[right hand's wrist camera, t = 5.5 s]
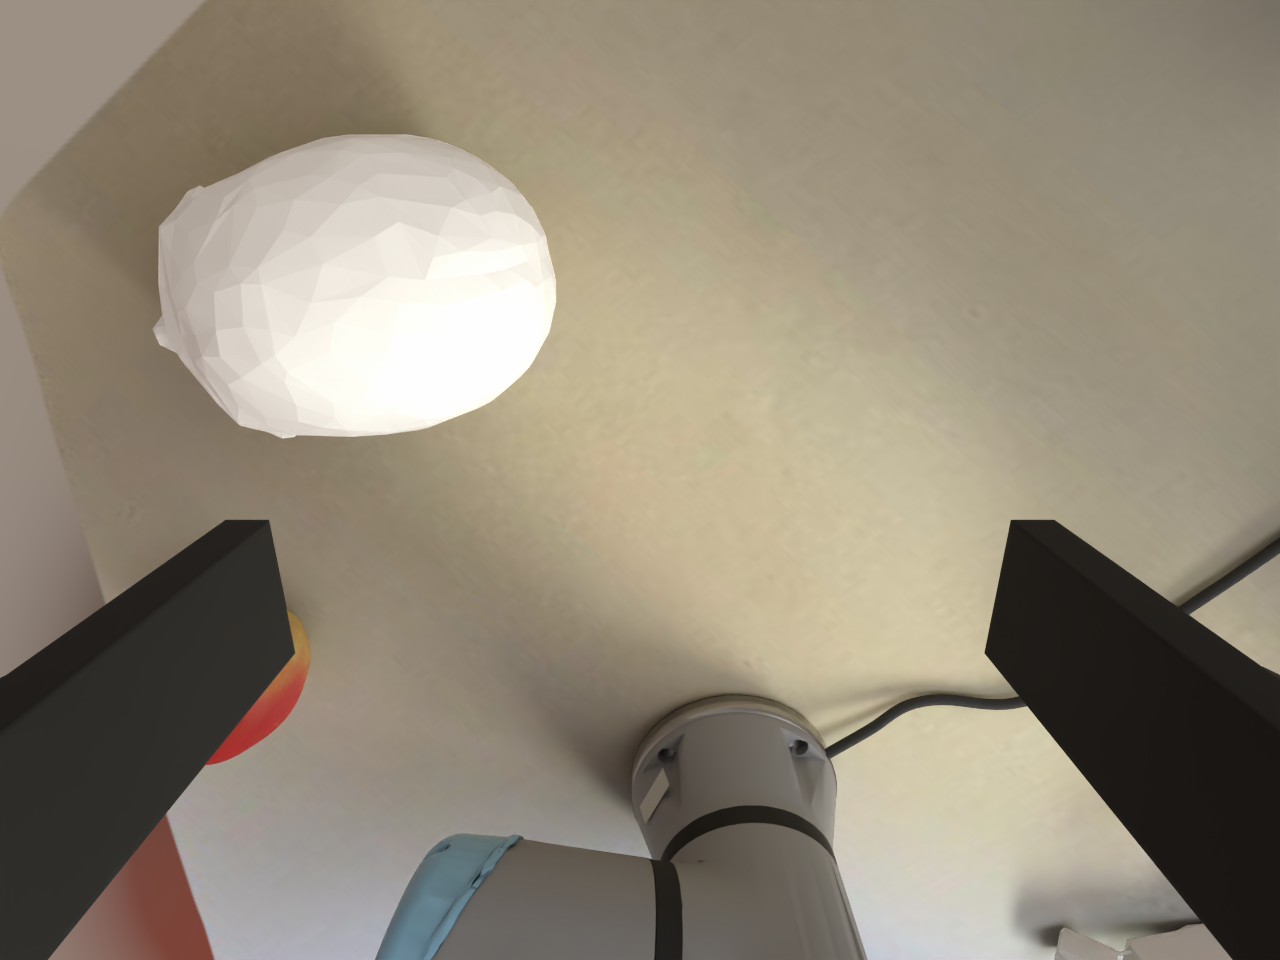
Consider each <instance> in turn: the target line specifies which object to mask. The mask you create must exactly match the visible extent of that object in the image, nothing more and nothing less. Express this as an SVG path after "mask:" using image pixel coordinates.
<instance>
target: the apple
mask: <svg viewBox="0 0 1280 960" xmlns="http://www.w3.org/2000/svg"><path fill="white" fill-rule="evenodd" d="M287 613H288V618H289V623H290V628H291V633H292V638H293V643H294V648H295V654H294V656H293V657H292V658H291V659H290V660H289V662H288V663H287V664H286V665H285V667H284V668H283V669H282V670H281V672H280V673H279V674H278V675H277V677H276V678H275V679H274V680H273V681H272V683H271V684H270V685H269V686H268V688H267V689H266V690H265V691H264V693H263V694H262V695H261V696H260V698H259V699H258V700H257V701H256V703H255V704H254V705H253V706H252V707H251V709H250V710H249V711H248V712H247V714H246V715H245V716H244V717H243V719H242V720H241V721H240V722H239V724H238V725H237V726H236V727H235V728H234V730H233V731H232V732H231V733H230V735H229V736H228V737H227V738H226V740H225V741H224V742H223V743H222V745H221V746H220V747H219V748H218V750H217V751H216V752H215V753H214V754H213V756H212V757H211V758H210V759H209V761H208V762H207V763H206V764H205V765H210V764H215V763H219V762H223V761H226V760H228V759H230V758H232V757H235V756H237V755H238V754H240V753H242V752H243V751H245V750H247V749H248V748H250V747H252V746H253V745H255V744H256V743H258V742H259V741H261V740H262V739H263V738H265V737H266V736H268V735H269V734H270V733H271V732H272V731H274V730H275V729H276V728H277V727H278V726H279V725H280V724H281V723H282V722H283V721H284V720H285V719H286V717H287V716H288V715H289V714H290V712H291V711H292V709H293V708H294V706H295V704H296V703H297V700H298V698H299V696H300V694H301V692H302V689H303V686H304V683H305V680H306V677H307V674H308V669H309V665H310V645H309V641H308V638H307V635H306V632H305V630H304V628H303V626H302V624H301V622H300V621H299V619H298V618H297V617H296V616H295V615H294V614H292V613H291V612H290V611H289V610H288V609H287Z"/></svg>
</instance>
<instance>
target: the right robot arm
mask: <svg viewBox="0 0 1280 960" xmlns="http://www.w3.org/2000/svg"><path fill="white" fill-rule="evenodd" d="M1279 553H1280V538H1278V539H1277V540H1276V541H1274V542H1273V543H1271V544H1270V545H1268V546H1267V547H1266V548H1264V549H1263V550H1261V551H1260V552H1258V553H1257V554H1256V555H1254V556H1253V557H1251V558H1250V559H1248V560H1247V561H1246V562H1244V563H1243V564H1241V565H1240V566H1238V567H1237V568H1236V569H1234V570H1233V571H1231V572H1230V573H1228V574H1227V575H1225V576H1224V577H1222V578H1221V579H1219V580H1218V581H1216V582H1215V583H1213V584H1212V585H1210V586H1209V587H1208V588H1206V589H1205V590H1203V591H1202V592H1200V593H1199V594H1197V595H1196V596H1194V597H1193V598H1191V599H1190V600H1188V601H1187V602H1185V603H1184V604H1182V605H1181V606H1179V607H1177V606H1175V605H1174V604H1172V603H1171V602H1170V601H1168V600H1167V599H1165V598H1164V597H1163V596H1161V595H1160V594H1158V593H1157V592H1155V591H1154V590H1153V589H1151V588H1150V587H1148V586H1147V585H1146V584H1144V583H1143V582H1141V581H1140V580H1139V579H1137V578H1136V577H1134V576H1133V575H1131V574H1130V573H1129V572H1127V571H1126V570H1124V569H1123V568H1122V567H1120V566H1119V565H1117V564H1116V563H1114V562H1113V561H1112V560H1110V559H1109V558H1107V557H1106V556H1105V555H1103V554H1102V553H1100V552H1099V551H1098V550H1096V549H1095V548H1093V547H1092V546H1090V545H1089V544H1088V543H1086V542H1085V541H1083V540H1082V539H1081V538H1079V537H1078V536H1076V535H1075V534H1073V533H1072V532H1071V531H1069V530H1068V529H1066V528H1065V527H1064V526H1062V525H1061V524H1059V523H1058V522H1057V521H1055V520H1011V523H1010V528H1009V533H1008V538H1007V543H1006V548H1005V553H1004V558H1003V563H1002V568H1001V573H1000V578H999V583H998V588H997V593H996V598H995V603H994V608H993V613H992V618H991V623H990V628H989V633H988V638H987V643H986V648H985V654H986V656H987V657H988V658H989V659H990V660H991V662H992V663H993V664H994V665H995V667H996V668H997V669H998V670H999V672H1000V673H1001V674H1002V675H1003V677H1004V678H1005V679H1006V680H1007V681H1008V683H1009V684H1010V685H1011V686H1012V688H1013V689H1014V690H1015V691H1016V693H1017V694H1018V695H1019V697H1015V698H1008V699H982V698H973V697H966V696H957V695H944V694H939V695H926V696H920V697H916V698H911V699H908V700H906V701H903V702H901V703H899V704H897V705H895V706H893V707H892V708H890V709H889V710H887V711H886V712H885V713H883V714H882V715H881V716H879V717H878V718H876V719H875V720H874V721H872V722H871V723H869V724H868V725H866V726H864V727H863V728H861V729H859V730H857V731H856V732H854V733H852V734H850V735H849V736H847V737H845V738H843V739H842V740H840V741H838V742H836V743H834V744H833V745H831V746H829V747H827V748H826V746H825V744H824V741H823V740H822V738H821V736H820V735H819V733H818V732H817V731H816V729H815V728H814V727H813V726H812V725H811V724H810V723H809V722H808V721H807V720H806V719H805V718H803V717H802V716H801V715H800V714H798V713H797V712H795V711H794V710H792V709H790V708H788V707H786V706H784V705H782V704H779V703H777V702H774V701H771V700H768V699H763V698H759V697H753V696H742V695H728V696H718V697H712V698H707V699H703V700H700V701H697V702H694V703H691V704H688V705H686V706H684V707H682V708H680V709H678V710H676V711H674V712H673V713H671V714H670V715H668V716H667V717H665V718H664V719H663V720H661V721H660V722H659V723H658V724H657V725H656V726H655V727H654V728H653V729H652V730H651V731H650V732H649V733H648V735H647V736H646V737H645V739H644V740H643V742H642V743H641V745H640V747H639V749H638V751H637V753H636V756H635V759H634V763H633V768H632V792H631V795H632V806H633V811H634V814H635V818H636V820H637V822H638V825H639V827H640V829H641V832H642V834H643V837H644V839H645V841H646V844H647V846H648V849H649V851H650V854H651V856H652V859H648V858H643V857H637V856H630V855H623V854H616V853H609V852H602V851H596V850H589V849H582V848H575V847H568V846H561V845H555V844H549V843H543V842H537V841H531V840H525V839H523V837H522V836H519V835H512V836H510V837H497V836H485V835H473V834H456V835H453V836H450V837H447V838H445V839H444V840H442V841H440V842H439V843H438V844H437V845H435V846H434V847H433V848H432V849H431V850H430V851H429V853H428V854H427V855H426V857H425V858H424V859H423V861H422V862H421V864H420V865H419V867H418V868H417V870H416V872H415V873H414V875H413V877H412V879H411V880H410V882H409V884H408V886H407V888H406V890H405V892H404V894H403V896H402V898H401V900H400V902H399V904H398V907H397V909H396V911H395V913H394V915H393V918H392V920H391V922H390V924H389V927H388V929H387V931H386V934H385V936H384V939H383V941H382V943H381V946H380V948H379V951H378V953H377V956H376V959H375V960H867V957H866V953H865V950H864V947H863V944H862V941H861V938H860V935H859V931H858V928H857V925H856V922H855V919H854V916H853V913H852V909H851V906H850V903H849V900H848V897H847V894H846V891H845V888H844V884H843V881H842V878H841V875H840V872H839V869H838V866H837V863H836V859H835V856H834V853H833V836H834V821H835V805H836V794H837V781H836V775H835V771H834V768H833V765H832V762H831V759H830V758H832V757H834V756H836V755H837V754H839V753H841V752H843V751H844V750H846V749H848V748H850V747H852V746H853V745H855V744H857V743H859V742H860V741H862V740H864V739H866V738H867V737H869V736H871V735H872V734H874V733H876V732H877V731H879V730H880V729H882V728H883V727H884V726H886V725H887V724H888V723H890V722H891V721H892V720H894V719H895V718H897V717H898V716H900V715H902V714H903V713H905V712H907V711H910V710H913V709H916V708H920V707H925V706H932V705H954V706H963V707H971V708H979V709H991V710H1006V709H1015V708H1020V707H1025V706H1028V707H1029V709H1030V710H1031V711H1032V712H1033V714H1034V715H1035V716H1036V717H1037V719H1038V720H1039V721H1040V722H1041V724H1042V725H1043V726H1044V727H1045V729H1046V730H1047V731H1048V732H1049V733H1050V735H1051V736H1052V737H1053V738H1054V740H1055V741H1056V742H1057V743H1058V745H1059V746H1060V747H1061V748H1062V750H1063V751H1064V752H1065V753H1066V754H1067V756H1068V757H1069V758H1070V759H1071V761H1072V762H1073V763H1074V764H1075V766H1076V767H1077V768H1078V769H1079V771H1080V772H1081V773H1082V774H1083V776H1084V777H1085V778H1086V779H1087V780H1088V782H1089V783H1090V784H1091V785H1092V787H1093V788H1094V789H1095V790H1096V792H1097V793H1098V794H1099V795H1100V797H1101V798H1102V799H1103V800H1104V801H1105V803H1106V804H1107V805H1108V806H1109V808H1110V809H1111V810H1112V811H1113V813H1114V814H1115V815H1116V816H1117V818H1118V819H1119V820H1120V821H1121V823H1122V824H1123V825H1124V826H1125V827H1126V829H1127V830H1128V831H1129V832H1130V834H1131V835H1132V836H1133V837H1134V839H1135V840H1136V841H1137V842H1138V844H1139V845H1140V846H1141V847H1142V849H1143V850H1144V851H1145V852H1146V853H1147V855H1148V856H1149V857H1150V858H1151V860H1152V861H1153V862H1154V863H1155V865H1156V866H1157V867H1158V868H1159V870H1160V871H1161V872H1162V873H1163V874H1164V876H1165V877H1166V878H1167V879H1168V881H1169V882H1170V883H1171V884H1172V886H1173V887H1174V888H1175V889H1176V891H1177V892H1178V893H1179V894H1180V896H1181V897H1182V898H1183V899H1184V900H1185V902H1186V903H1187V904H1188V905H1189V907H1190V908H1191V909H1192V910H1193V912H1194V913H1195V914H1196V915H1197V917H1198V918H1199V919H1200V920H1201V921H1202V923H1203V924H1204V925H1205V926H1206V928H1207V929H1208V930H1209V931H1210V933H1211V934H1212V935H1213V936H1214V938H1215V939H1216V940H1217V941H1218V943H1219V944H1220V945H1221V946H1222V947H1223V949H1224V950H1225V951H1226V952H1227V954H1228V955H1229V956H1230V957H1231V959H1232V960H1280V675H1279V674H1277V673H1275V672H1273V671H1270V670H1268V669H1266V668H1264V667H1261V666H1260V665H1259V664H1257V663H1256V662H1254V661H1253V660H1252V659H1250V658H1249V657H1247V656H1246V655H1245V654H1243V653H1242V652H1240V651H1239V650H1237V649H1236V648H1235V647H1233V646H1232V645H1230V644H1229V643H1228V642H1226V641H1225V640H1223V639H1222V638H1220V637H1219V636H1218V635H1216V634H1215V633H1213V632H1212V631H1211V630H1209V629H1208V628H1206V627H1205V626H1204V625H1202V624H1201V623H1199V622H1198V621H1196V620H1195V619H1194V618H1192V617H1191V616H1189V614H1191V613H1192V612H1194V611H1195V610H1197V609H1198V608H1200V607H1201V606H1203V605H1204V604H1206V603H1207V602H1209V601H1210V600H1212V599H1213V598H1215V597H1216V596H1218V595H1219V594H1221V593H1222V592H1224V591H1225V590H1227V589H1228V588H1230V587H1231V586H1233V585H1234V584H1236V583H1237V582H1239V581H1240V580H1242V579H1243V578H1245V577H1246V576H1247V575H1249V574H1250V573H1252V572H1253V571H1255V570H1256V569H1258V568H1259V567H1260V566H1262V565H1263V564H1265V563H1266V562H1268V561H1269V560H1271V559H1272V558H1273V557H1275V556H1276V555H1278V554H1279ZM294 654H295V648H294V643H293V638H292V633H291V628H290V623H289V618H288V613H287V608H286V603H285V598H284V593H283V588H282V583H281V578H280V573H279V568H278V563H277V558H276V553H275V548H274V543H273V538H272V533H271V528H270V523H269V520H225V521H223V522H222V523H221V524H219V525H218V526H216V527H215V528H214V529H212V530H211V531H209V532H208V533H207V534H205V535H204V536H202V537H201V538H199V539H198V540H197V541H195V542H194V543H192V544H191V545H190V546H188V547H187V548H185V549H184V550H182V551H181V552H180V553H178V554H177V555H175V556H174V557H173V558H171V559H170V560H168V561H167V562H166V563H164V564H163V565H161V566H160V567H158V568H157V569H156V570H154V571H153V572H151V573H150V574H149V575H147V576H146V577H144V578H143V579H141V580H140V581H139V582H137V583H136V584H134V585H133V586H132V587H130V588H129V589H127V590H126V591H125V592H123V593H122V594H120V595H119V596H117V597H116V598H115V599H113V600H112V601H110V602H109V603H108V604H106V605H105V606H103V607H102V608H101V609H99V610H98V611H96V612H95V613H93V614H92V615H91V616H89V617H88V618H86V619H85V620H84V621H82V622H81V623H79V624H78V625H76V626H75V627H74V628H72V629H71V630H69V631H68V632H67V633H65V634H64V635H62V636H61V637H60V638H58V639H57V640H55V641H54V642H52V643H51V644H50V645H48V646H47V647H45V648H44V649H43V650H41V651H40V652H38V653H37V654H35V655H34V656H33V657H31V658H30V659H28V660H27V661H26V662H24V663H23V664H21V665H20V666H19V667H17V668H16V669H14V670H13V671H11V672H10V673H9V674H7V675H6V676H4V677H1V678H0V960H48V959H49V957H50V956H51V955H52V954H53V952H54V951H55V950H56V949H57V947H58V946H59V945H60V944H61V942H62V941H63V940H64V939H65V938H66V936H67V935H68V934H69V933H70V931H71V930H72V929H73V928H74V926H75V925H76V924H77V923H78V921H79V920H80V919H81V918H82V917H83V915H84V914H85V913H86V912H87V910H88V909H89V908H90V907H91V905H92V904H93V903H94V902H95V900H96V899H97V898H98V897H99V896H100V894H101V893H102V892H103V891H104V889H105V888H106V887H107V886H108V884H109V883H110V882H111V881H112V879H113V878H114V877H115V876H116V874H117V873H118V872H119V871H120V870H121V868H122V867H123V866H124V865H125V863H126V862H127V861H128V860H129V858H130V857H131V856H132V855H133V853H134V852H135V851H136V850H137V849H138V847H139V846H140V845H141V844H142V842H143V841H144V840H145V839H146V837H147V836H148V835H149V834H150V832H151V831H152V830H153V829H154V827H155V826H156V825H157V824H158V823H159V821H160V820H161V819H162V818H163V816H164V815H165V814H166V813H167V811H168V810H169V809H170V808H171V806H172V805H173V804H174V803H175V801H176V800H177V799H178V798H179V797H180V795H181V794H182V793H183V792H184V790H185V789H186V788H187V787H188V785H189V784H190V783H191V782H192V780H193V779H194V778H195V777H196V776H197V774H198V773H199V772H200V771H201V769H202V768H203V767H204V766H205V764H206V763H207V762H208V761H209V759H210V758H211V757H212V756H213V754H214V753H215V752H216V751H217V750H218V748H219V747H220V746H221V745H222V743H223V742H224V741H225V740H226V738H227V737H228V736H229V735H230V733H231V732H232V731H233V730H234V728H235V727H236V726H237V725H238V724H239V722H240V721H241V720H242V719H243V717H244V716H245V715H246V714H247V712H248V711H249V710H250V709H251V707H252V706H253V705H254V704H255V703H256V701H257V700H258V699H259V698H260V696H261V695H262V694H263V693H264V691H265V690H266V689H267V688H268V686H269V685H270V684H271V683H272V681H273V680H274V679H275V678H276V677H277V675H278V674H279V673H280V672H281V670H282V669H283V668H284V667H285V665H286V664H287V663H288V662H289V660H290V659H291V658H292V657H293V656H294Z"/></svg>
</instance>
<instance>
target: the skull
mask: <svg viewBox="0 0 1280 960" xmlns="http://www.w3.org/2000/svg"><path fill="white" fill-rule="evenodd" d="M158 286H159V294H160V302H161V310H162V316H161V317H160V319H159V320H158V322H157V323H156V325H155V326H154V328H153V331H154V334H155V336H156V338H157V340H158V342H159V344H160V345H161V346H163V347H165V348H167V349H169V350H172V351H174V352H176V353H177V354H178V356H179V358H180V359H181V361H182V362H183V363H184V364H185V365H186V367H187V368H188V369H189V370H190V371H191V373H192V374H193V375H194V376H195V377H196V379H197V380H198V381H199V382H200V383H201V385H202V386H203V387H204V388H205V389H206V391H207V392H208V393H209V394H210V395H211V397H212V398H213V399H214V400H215V401H216V403H217V404H218V405H219V406H220V407H221V408H222V409H223V410H224V411H225V412H226V413H227V414H228V415H229V416H231V417H232V418H233V419H234V420H235V421H236V422H237V423H238V424H239V425H240V426H244V427H248V428H252V429H256V430H261V431H265V432H269V433H271V434H273V435H276V436H278V437H280V438H291V437H295V436H296V435H310V436H345V437H357V436H372V435H386V434H393V433H400V432H408V431H415V430H420V429H425V428H429V427H431V426H434V425H437V424H439V423H442V422H444V421H447V420H449V419H452V418H454V417H457V416H459V415H462V414H464V413H467V412H469V411H472V410H474V409H477V408H479V407H481V406H483V405H485V404H487V403H489V402H491V401H492V400H493V399H495V398H496V397H497V396H498V395H500V394H501V393H502V392H503V391H504V390H506V389H507V388H508V387H509V386H510V385H511V384H513V383H514V382H515V381H516V380H517V379H519V378H520V377H521V376H522V374H523V373H524V372H525V371H526V370H527V369H528V368H529V367H530V366H531V364H532V363H533V361H534V359H535V357H536V355H537V353H538V352H539V350H540V348H541V346H542V344H543V342H544V341H545V339H546V337H547V335H548V333H549V331H550V327H551V322H552V317H553V313H554V308H555V304H556V278H555V274H554V271H553V267H552V263H551V259H550V255H549V250H548V245H547V240H546V235H545V233H544V230H543V228H542V226H541V224H540V222H539V220H538V218H537V216H536V214H535V212H534V210H533V208H532V207H531V206H530V204H529V203H528V202H527V201H526V199H525V198H524V197H523V195H522V194H521V193H520V192H519V191H518V189H517V188H516V187H515V186H514V185H513V183H512V182H510V181H509V180H508V179H507V178H505V177H504V176H503V175H502V174H500V173H499V172H498V171H496V170H495V169H494V168H493V167H491V166H490V165H488V164H487V163H485V162H484V161H483V160H481V159H480V158H478V157H477V156H475V155H473V154H471V153H468V152H466V151H464V150H462V149H460V148H458V147H456V146H454V145H451V144H448V143H445V142H442V141H439V140H436V139H432V138H427V137H421V136H414V135H407V134H362V135H341V136H334V137H327V138H321V139H318V140H315V141H313V142H310V143H307V144H304V145H301V146H298V147H295V148H292V149H289V150H286V151H283V152H280V153H278V154H275V155H273V156H270V157H269V158H267V159H265V160H263V161H261V162H259V163H257V164H255V165H253V166H251V167H249V168H247V169H245V170H243V171H242V172H240V173H238V174H235V175H233V176H231V177H228V178H226V179H224V180H221V181H219V182H217V183H215V184H212V185H210V186H208V187H205V188H204V187H202V186H198V187H196V188H193V189H191V190H189V191H187V193H186V194H185V196H184V197H183V198H182V200H181V201H180V203H179V204H178V206H177V207H176V208H175V209H174V211H173V212H172V213H171V214H170V215H169V216H168V217H167V218H166V219H165V220H164V221H163V223H162V224H161V225H160V226H159V262H158Z"/></svg>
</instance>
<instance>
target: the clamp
mask: <svg viewBox="0 0 1280 960" xmlns="http://www.w3.org/2000/svg"><path fill="white" fill-rule="evenodd" d="M1117 955H1124V956H1123V960H1232V959H1231V957H1230V956H1229V955H1228V954H1227V952H1226V951H1225V950H1224V949H1223V947H1222V946H1221V945H1220V944H1219V943H1218V941H1217V940H1216V939H1215V938H1214V936H1213V935H1212V934H1211V933H1210V931H1209V930H1208V929H1207V928H1206V926H1205V925H1204V924H1193V925H1185V926H1184V927H1182V928H1180V929H1179V930H1177V931H1171V932H1166V933H1161V934H1155V935H1150V936H1144V937H1139V938H1134V939H1128V940H1127V944H1126V948H1125V951H1121V952H1118V951H1115V950H1114V949H1113V948H1111V947H1109V946H1106V945H1104V944H1102V943H1099V942H1097V941H1095V940H1092V939H1090V938H1088V937H1085V936H1083V935H1081V934H1079V933H1076V932H1074V931H1072V930H1069V929H1067V928H1065V927H1064V928H1063V929H1062V930H1061V931H1060V935H1059V940H1058V945H1057V950H1056V955H1055V960H1118V957H1117Z"/></svg>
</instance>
